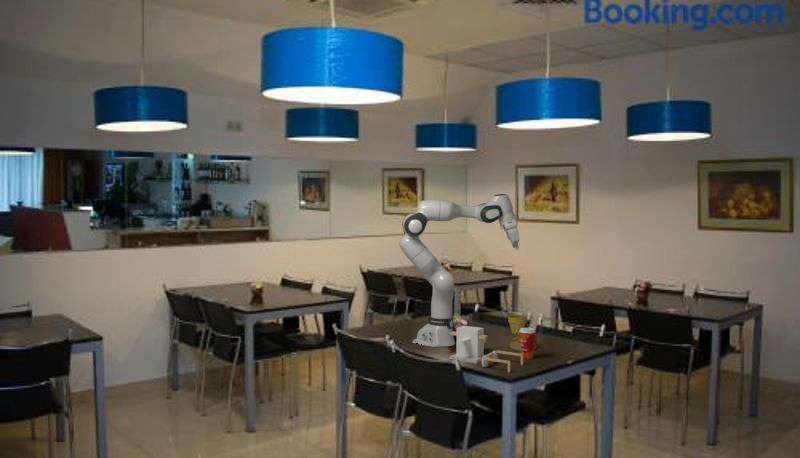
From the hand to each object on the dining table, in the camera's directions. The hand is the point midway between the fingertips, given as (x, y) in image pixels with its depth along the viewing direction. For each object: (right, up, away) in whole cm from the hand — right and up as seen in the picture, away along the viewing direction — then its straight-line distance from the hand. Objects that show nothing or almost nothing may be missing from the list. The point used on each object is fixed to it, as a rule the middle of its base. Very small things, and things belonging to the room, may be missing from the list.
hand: (516, 248), depth 347 cm
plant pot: (+5, -49, +27) cm, 56 cm away
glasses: (-14, -52, -45) cm, 70 cm away
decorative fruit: (-22, -51, -17) cm, 58 cm away
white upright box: (-29, -52, -33) cm, 68 cm away
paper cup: (0, -52, -29) cm, 59 cm away
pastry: (+2, -51, -7) cm, 51 cm away
